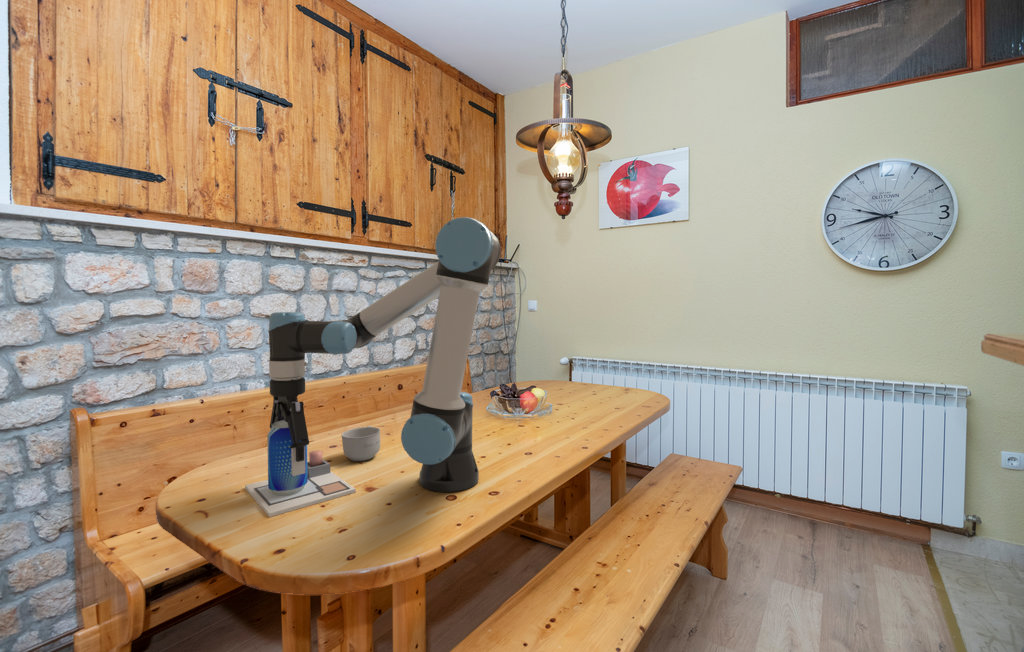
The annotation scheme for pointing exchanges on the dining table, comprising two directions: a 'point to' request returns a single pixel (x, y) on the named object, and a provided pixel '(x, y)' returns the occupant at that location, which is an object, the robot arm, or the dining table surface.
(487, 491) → the dining table surface
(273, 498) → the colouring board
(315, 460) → the button
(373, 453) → the teacup
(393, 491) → the dining table surface
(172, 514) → the dining table surface
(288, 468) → the beer can
